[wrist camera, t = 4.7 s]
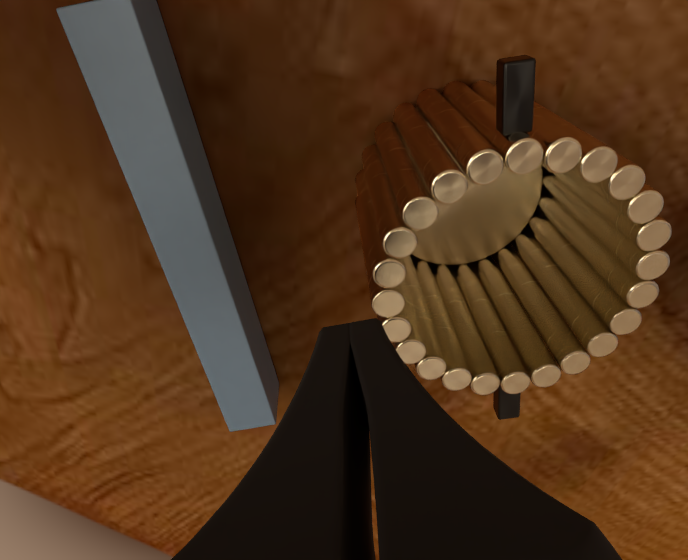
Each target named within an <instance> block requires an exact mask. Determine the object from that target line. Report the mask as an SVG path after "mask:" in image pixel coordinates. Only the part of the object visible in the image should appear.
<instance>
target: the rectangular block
mask: <svg viewBox="0 0 688 560" xmlns="http://www.w3.org/2000/svg"><path fill="white" fill-rule="evenodd" d="M56 10H57V13H58V16H59V18H60V20H61V23H62V25H63V28H64V30H65V33H66V35H67V37H68V40H69V42H70V45H71V47H72V50H73V52H74V54H75V57H76V59H77V62H78V64H79V67H80V69H81V71H82V74H83V76H84V79H85V81H86V84H87V86H88V88H89V91H90V93H91V96H92V98H93V101H94V103H95V105H96V108H97V110H98V113H99V115H100V118H101V120H102V122H103V125H104V127H105V130H106V132H107V135H108V137H109V139H110V142H111V144H112V147H113V149H114V152H115V154H116V156H117V159H118V161H119V164H120V166H121V169H122V171H123V173H124V176H125V178H126V181H127V183H128V186H129V188H130V190H131V193H132V195H133V198H134V200H135V203H136V205H137V207H138V210H139V212H140V215H141V217H142V220H143V222H144V224H145V227H146V229H147V232H148V234H149V237H150V239H151V241H152V244H153V246H154V249H155V251H156V254H157V256H158V258H159V261H160V263H161V266H162V268H163V271H164V273H165V275H166V278H167V280H168V283H169V285H170V288H171V290H172V292H173V295H174V297H175V300H176V302H177V304H178V307H179V309H180V312H181V314H182V317H183V319H184V321H185V324H186V326H187V329H188V331H189V334H190V336H191V338H192V341H193V343H194V346H195V348H196V351H197V353H198V355H199V358H200V360H201V363H202V365H203V368H204V370H205V372H206V375H207V377H208V380H209V382H210V385H211V387H212V389H213V392H214V394H215V397H216V399H217V402H218V404H219V406H220V409H221V411H222V414H223V416H224V419H225V421H226V423H227V426H228V428H229V431H230V432H232V431H238V430H244V429H250V428H256V427H262V426H268V425H274V424H276V417H277V405H278V393H279V381H278V378H277V375H276V372H275V369H274V366H273V363H272V360H271V357H270V353H269V350H268V347H267V344H266V341H265V338H264V335H263V332H262V328H261V325H260V322H259V319H258V316H257V313H256V310H255V307H254V303H253V300H252V297H251V294H250V291H249V288H248V285H247V282H246V279H245V275H244V272H243V269H242V266H241V263H240V260H239V257H238V254H237V250H236V247H235V244H234V241H233V238H232V235H231V232H230V229H229V225H228V222H227V219H226V216H225V213H224V210H223V207H222V204H221V201H220V197H219V194H218V191H217V188H216V185H215V182H214V179H213V176H212V172H211V169H210V166H209V163H208V160H207V157H206V154H205V151H204V148H203V144H202V141H201V138H200V135H199V132H198V129H197V126H196V123H195V119H194V116H193V113H192V110H191V107H190V104H189V101H188V98H187V94H186V91H185V88H184V85H183V82H182V79H181V76H180V73H179V70H178V66H177V63H176V60H175V57H174V54H173V51H172V48H171V45H170V41H169V38H168V35H167V32H166V29H165V26H164V23H163V20H162V16H161V13H160V10H159V7H158V4H157V1H156V0H94V1H89V2H84V3H79V4H75V5H70V6H65V7H60V8H57V9H56Z"/></svg>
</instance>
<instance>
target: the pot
mask: <svg viewBox="0 0 688 560" xmlns="http://www.w3.org/2000/svg"><path fill="white" fill-rule="evenodd" d="M535 65H536V60H535V58H532V57H530V56H527V55H521V56H515V57H508V58H502V59H499V60H497V80H496V86H495V85H493V84H491V83H490V82H488V81H486V80H480V81H477V82H476V83H474V84H473V85H472V86H471V88H469V87H468V86H467V85H465V84H464V83H463V82H461V81H452V82H450V83H448V84H447V85H446V86H445V87H444V89H443V92H442V95H441V94H440V93H439V92H438V91H437V90H435V89H431V88H430V89H425V90H423V91H422V92H421V93H420V94H419V95H418V97H417V101H416V105H417V108H418V109H417V108H416V106H415V105H413V104H411V103H402V104H400V105H399V106H398V107H397V108H396V109H395V111H394V114H393V119H394V122H395V124H396V125H395V124H394V123H392V122H383V123H381V124H380V125H379V126H378V127H377V128H376V130H375V140H376V143H377V145H376V144H373V145H369V146H367V147H366V148H365V149H364V151H363V153H362V162H363V166H364V169H362V170H360V171H359V172H358V173H357V175H356V178H355V182H356V188H357V193H358V196H357V198H356V200H355V205H356V211H357V218H358V224H359V230H360V236H361V242H362V249H363V255H364V261H365V267H366V273H367V279H368V286H369V292H370V298H371V304H372V309H373V310H374V312H375V313H376V314H377V319H378V320H380V321H381V322H382V325H383V327H384V330H385V332H386V334H387V336H388V338H389V340H390V341H391V342H393V346H394V348H395V350H396V351H397V353H398V354H399V356H400V357H401V359H402V360H403V361H404V363H405V364H415V368H416V372H417V374H418V375H419V376H420V377H421V378H423V379H426V380H434V379H437V378H439V377H440V378H441V381H442V384H443V385H444V387H446V388H447V389H449V390H452V391H458V390H462V389H464V388H466V387H467V386H468V385H470V388H471V390H472V391H473V392H474V393H476V394H478V395H488V394H491V393H493V392H494V410H495V412H496V415H497V417H498V419H500V420H501V419H508V418H515V417H519V413H520V393H521V392H523V391H524V390H526V389H527V388H528V386H529V384H530V379H531V381H532V383H533V384H534V385H536V386H538V387H549V386H551V385H553V384H555V383H556V382H557V381H558V380H559V379H560V376H561V370H562V371H563V372H565V373H567V374H572V375H573V374H578V373H581V372H583V371H584V370H586V369H587V368H588V366H589V364H590V355H592V356H595V357H603V356H606V355H609V354H610V353H612V352H613V351H614V350H615V349H616V347H617V345H618V338H617V336H616V335H615V334H618V335H625V334H629V333H631V332H633V331H634V330H636V329H637V328H638V327H639V325H640V324H641V321H642V316H641V313H640V312H639V311H638V310H637V308H643V307H646V306H648V305H650V304H652V303H653V302H654V301H655V300H656V298H657V297H658V294H659V288H658V285H657V283H656V282H654V281H653V280H652V279H656V278H658V277H660V276H661V275H662V274H664V273H665V272H666V270H667V269H668V267H669V264H670V259H669V256H668V254H667V253H666V252H665V251H664V250H662V249H661V247H662V246H664V245H665V244H666V243H667V242H668V240H669V239H670V237H671V233H672V229H671V225H670V224H669V222H667V221H666V220H665V219H663V218H662V217H661V216H659V214H660V212H661V210H662V208H663V205H664V200H663V197H662V195H661V193H660V192H658V191H657V190H655V189H654V188H652V187H651V186H649V185H647V184H646V183H645V173H644V171H643V169H642V168H641V167H640V166H638V165H637V164H635V163H633V162H632V161H630V160H628V159H627V158H625V157H623V156H622V155H620V154H619V153H617V152H615V151H614V149H612V148H611V147H609V146H608V145H606V144H604V143H603V142H601V141H599V140H598V139H596V138H594V137H593V136H591V135H589V134H588V133H586V132H584V131H583V130H581V129H579V128H578V127H576V126H574V125H573V124H571V123H569V122H568V121H566V120H564V119H563V118H561V117H560V116H558V115H556V114H555V113H553V112H551V111H550V110H548V109H546V108H545V107H543V106H541V105H540V104H538V103H536V102H535V101H534V86H535ZM421 114H422V115H421ZM542 166H543V167H542ZM542 186H543V188H542ZM537 207H538V208H537ZM510 243H511V244H512V245H511V244H510ZM516 251H517V252H516ZM518 254H519V255H518ZM411 255H413V256H411ZM491 255H492V256H491ZM492 257H493V258H492ZM521 258H522V259H521ZM494 260H495V261H494ZM523 261H524V262H523ZM429 262H431V263H430V264H429ZM495 262H496V263H495ZM449 265H450V266H449ZM497 265H498V266H497ZM498 267H499V268H498ZM528 268H529V269H528ZM500 270H501V271H500ZM530 271H531V272H530ZM501 272H502V273H501ZM503 275H504V276H503ZM533 275H534V276H533ZM505 278H506V279H505ZM535 278H536V279H535ZM506 280H507V281H506ZM508 283H509V284H508ZM509 285H510V286H509ZM540 285H541V286H540ZM511 288H512V289H511ZM512 290H513V291H512ZM545 292H546V293H545ZM514 293H515V294H514ZM515 295H516V296H517V297H516V296H515ZM547 295H548V296H547ZM517 298H518V299H517ZM550 299H551V300H550ZM519 301H520V302H519ZM552 302H553V303H552ZM520 303H521V304H520ZM522 306H523V307H522ZM523 308H524V309H523ZM557 309H558V310H557ZM525 311H526V312H525ZM559 312H560V313H559ZM526 313H527V314H526ZM528 316H529V317H528ZM562 316H563V317H562ZM529 318H530V319H531V320H530V319H529ZM564 319H565V320H564ZM531 321H532V322H531ZM567 323H568V324H567ZM533 324H534V325H533ZM534 326H535V327H534ZM569 326H570V327H569ZM536 329H537V330H536ZM537 331H538V332H537ZM574 333H575V334H574ZM539 334H540V335H539ZM540 336H541V337H542V338H541V337H540ZM576 336H577V337H576ZM542 339H543V340H542ZM579 340H580V341H579ZM543 341H544V342H545V343H544V342H543ZM581 343H582V344H581ZM545 344H546V345H545ZM547 347H548V348H547ZM548 349H549V350H548ZM586 350H587V351H586ZM550 352H551V353H550ZM588 353H589V354H590V355H589V354H588ZM551 354H552V355H551ZM553 357H554V358H553ZM554 359H555V360H556V361H555V360H554ZM556 362H557V363H556ZM557 364H558V365H559V366H558V365H557ZM559 367H560V368H559ZM560 369H561V370H560Z"/></svg>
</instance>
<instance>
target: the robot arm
mask: <svg viewBox="0 0 688 560" xmlns="http://www.w3.org/2000/svg"><path fill="white" fill-rule="evenodd" d="M369 431H370V438H369ZM370 441H371V451H372V463H373V474H374V486H375V499H376V512H377V527H378V543H379V559H380V560H622V559H621V558H620V556H619V555H618V553H617V552H616V550H615V549H614V548H613V546H612V545H611V544H610V542H609V541H608V540H607V538H606V537H605V536H604V535H603V533H602V532H601V531H600V529H599V528H598V527H597V526H596V524H595V523H594V522H592V521H590V520H589V519H587V518H585V517H584V516H582V515H580V514H579V513H577V512H575V511H574V510H572V509H570V508H569V507H567V506H565V505H564V504H562V503H561V502H559V501H557V500H556V499H554V498H553V497H551V496H550V495H548V494H547V493H545V492H543V491H542V490H541V489H539V488H538V487H536V486H535V485H533V484H532V483H530V482H529V481H528V480H526V479H525V478H523V477H522V476H520V475H519V474H518V473H516V472H515V471H514V470H512V469H511V468H510V467H509V466H507V465H506V464H505V463H503V462H502V461H501V460H500V459H498V458H497V457H496V456H495V455H493V454H492V453H491V452H489V451H488V450H487V449H486V448H484V447H483V446H482V445H481V444H479V443H478V442H477V441H476V440H475V439H474V438H473V437H472V436H470V435H469V434H468V433H467V432H466V431H465V430H464V429H463V428H462V427H461V426H460V425H458V424H457V423H456V422H455V421H454V420H453V419H452V418H451V417H450V416H449V415H448V414H447V413H446V412H445V411H444V410H443V409H442V408H441V407H440V405H439V404H438V403H437V402H436V401H435V400H434V399H433V398H432V397H431V395H430V394H429V393H428V392H427V391H426V390H425V389H424V387H423V386H422V385H421V384H420V383H419V381H418V380H417V379H416V378H415V376H414V375H413V374H412V372H411V371H410V370H409V368H408V367H407V366H406V364H405V363H404V361H403V360H402V359H401V357H400V356H399V354H398V353H397V351H396V350H395V348H394V346H393V345H392V343H391V341H390V340H389V338H388V336H387V334H386V332H385V330H384V327H383V325H382V322H381V321H380V320H378V319H377V318H375V319H369V320H363V321H358V322H352V323H346V324H340V325H335V326H329V327H323V328H322V330H321V331H320V332H319V335H318V339H317V342H316V345H315V348H314V351H313V354H312V356H311V359H310V361H309V364H308V366H307V369H306V371H305V373H304V376H303V378H302V380H301V382H300V384H299V387H298V389H297V391H296V393H295V395H294V397H293V399H292V401H291V403H290V405H289V407H288V409H287V410H286V412H285V414H284V416H283V418H282V420H281V422H280V423H279V425H278V427H277V429H276V430H275V432H274V434H273V435H272V437H271V439H270V440H269V442H268V443H267V445H266V446H265V448H264V449H263V451H262V452H261V454H260V455H259V457H258V458H257V460H256V461H255V463H254V464H253V466H252V467H251V468H250V470H249V471H248V472H247V474H246V475H245V476H244V478H243V479H242V480H241V482H240V483H239V485H238V486H237V487H236V488H235V490H234V491H233V492H232V493H231V495H230V496H229V497H228V498H227V500H226V501H225V502H224V503H223V504H222V506H221V507H220V508H219V509H218V510H217V511H216V512H215V513H214V515H213V516H212V517H211V518H210V519H209V520H208V521H207V523H206V524H205V525H204V526H203V527H202V528H201V529H200V531H199V532H198V533H197V534H196V535H195V536H194V537H193V538H192V539H191V540H190V541H189V542H188V544H187V545H186V546H185V547H184V548H183V549H182V550H181V551H180V552H178V553H177V554H176V555H175V556H174V557H173V558H172V559H171V560H376V559H375V551H374V543H373V528H372V504H371V470H370Z"/></svg>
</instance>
